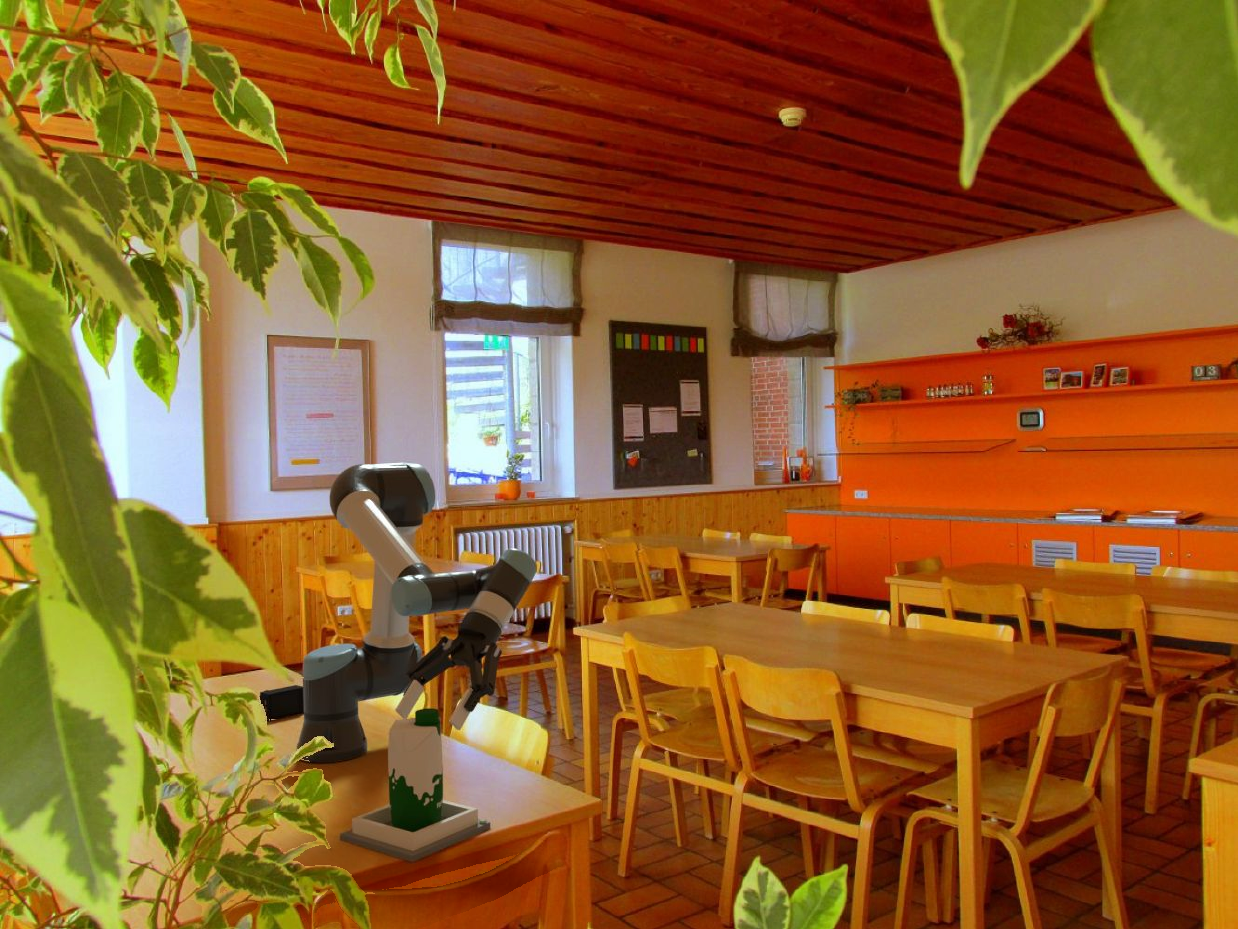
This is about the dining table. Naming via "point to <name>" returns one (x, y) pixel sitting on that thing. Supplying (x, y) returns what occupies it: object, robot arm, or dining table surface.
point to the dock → (413, 846)
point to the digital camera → (283, 702)
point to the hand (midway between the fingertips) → (426, 720)
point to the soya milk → (415, 771)
